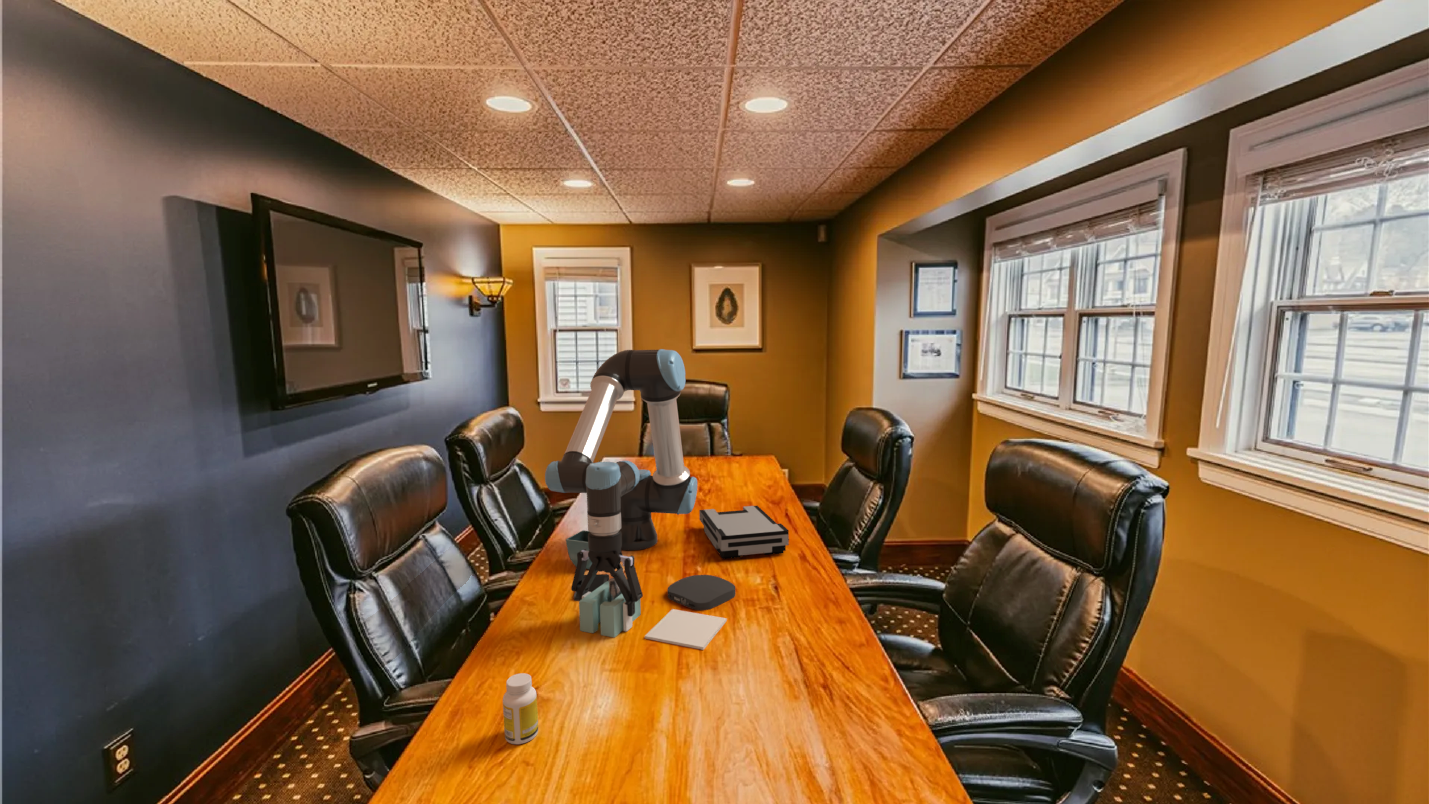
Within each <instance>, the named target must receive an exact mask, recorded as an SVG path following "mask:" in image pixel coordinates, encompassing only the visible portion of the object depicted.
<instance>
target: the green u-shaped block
mask: <svg viewBox="0 0 1429 804" xmlns="http://www.w3.org/2000/svg"><path fill="white" fill-rule="evenodd" d="M620 592H621V591H620ZM624 602H625V599H624V597H623V595H622V593H621V595H619V596H618V597H617V598H615V599H614V600H613V601H612V602H610V599H609V581H607V582H605V583H604V584H603V585H601V586H600V587H598V588H597V589H596V590H594V591H593V592H591V593H590V594H588V595H587V596H586V597H584V598H583V599H581V600H580V601H578V607H579V610H578V611H579V614H578V615H579V631H580V632H585V633H589V634H590V633H591V634H594V633H596V632H597V631H598V630H599V624H600V635H601V636H605V637H609V638H617V636H618V635H619V634H620V633H621V632H624V625H623V603H624ZM641 608H642V607H641V599H639V600H638V601H637V602H635V614H634V615H633V616H632V623H633V622H634V621H635V620H636V619H637V618H638V617H640V616H641V611H642V610H641Z"/></svg>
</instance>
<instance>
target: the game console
mask: <svg viewBox="0 0 1429 804" xmlns="http://www.w3.org/2000/svg"><path fill="white" fill-rule="evenodd" d="M698 510H699V511H698V512H699V521H700V522H701V524H702V525H703V532H704V533H705V535H706V536H707V539H708V540H709V541H710V543H711V545H712V546H713V547H714V549H715V550H716V552H717V553H718V554H719V555H720V558H721V559H722V560H729V559H738V558H743V556H748V555H756V554H763V555H764V556H769V555H780V554H784V552H786V551H787V549H786V546H789V539H790V538H789V535H790V534H789V532H790V531H789V529H788V528H787V527H785V526H784V525H783V524H782V523H777V522H776V521H775V520H774V519H773V518H772V517H770V515H768V514H767V513H766V512H765V510H763V509H761V507H759V506H758V505H747V506H745V505H744V506H742V509H741V510H728V511H717V510H716V509H714V508H711V509H709V508H708V509H707V508H706V509H698Z"/></svg>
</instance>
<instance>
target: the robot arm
mask: <svg viewBox="0 0 1429 804" xmlns="http://www.w3.org/2000/svg"><path fill="white" fill-rule="evenodd" d="M589 385H590V392H589V396H588V397H587V400H586V402H585V404H584V406H583V409H582V410H581V411H582V412H581V413H580V416H579V419H578V421H577V422H576V423H577V424H576V425H575V428H574V430H573V433H572V435H571V437H570V440H569V442H568V444H567V447H566V450H565V451H564V454H563V455H562V458H561V460H556V461H555V460H554V461H551V462H550V463H549V464H548V465H547V467H546V469H545V473H544V481H545V485H546V486H547V489H549V490H550V491H551V492H557V493H563V494H566V493H570V494H571V493H573V494H575V493H576V494H580V493H581V494H586V505H587V506H586V508H587V513H586V514H587V515H586V516H587V531H589V533H588V548H589V549H590V550H589V551H587V550H586V549H583V550H582V551H580V552H578V553H577V560H578V562H577V566H575V572H574V575H573V578H572V583H571V587H570V590H571V591H572V592H575V591H576V592H578V594H579V601H580V600H581V599H583V598H584V597H586V596H587V595H588V594H590V593H591V592H587V591H588V590H589V587H590V585H591V584H592V582H593V580H594V578H595V576H596V574H598V573H599V572H604V573H605V574H609V576H611V578H614V579H615V581H616V583H617V585H618V587H619V589H620V591H621V593H622V595H623V597H624V599H625V602H624V603H623V625H624V630H623V632H628V631H629V630H630V629H631V628H632V627H633V622H632V616H633V615H634V614H635V602H637V601H638V600H639V599H640V600H641V599H642V598H644V597H643V596H644V594H643V592H642V588H641V584H640V581H639V580H640V579H639V577H638V574H637V570H636V567H635V556H634V555H630V556H627V555H623V553H622V551H640V550H645V549H648V548H652V547H654V546H655V545H656V544H657V543H658V533H657V531H656V528H655V524H654V522H653V519H652V514H653V513H654V514H657V513H658V514H670V515H671V514H672V515H673V514H674V515H675V514H676V515H678V516H679V515H688V514H690V513H691V512H692V511H693V509H694V507H695V503H696V500H697V495H698V494H697V493H698V479H697V478H696V477H695V476H691V472H690V469H689V468H688V467H687V466H685V463H684V453H683V446H682V444H683V443H682V437H681V436H682V435H681V428H680V421H679V411H678V403H677V399H678V397H680V395H681V391H683V390H684V389H685V386H686V368H685V364H684V361H683V358H682V356H681V355H680V354H679V352H677V351H676V350H673V349H664V348H659V349H625V350H622V351H619V352H616V353H614V354H613V355H612V356H610V357H608V359H606V360H605V361H604V362H603V363H602V364H601V365H600V366H599V368H597V370H596V372H594V375H593V376H592V379H591V381H590V384H589ZM627 391H640V392H639V393H640V398H641V400H642V401H643V402H645V403H647V405H646V406H647V412H648V420H649V425H650V432H651V438H652V439H651V440H652V445H653V446H652V447H653V455H654V460H655V467H656V468H655V469H656V470H655V471H654V472H653V474H652V473H651V471H650V470H649V469H639V468H638V467H637V465H636V464H635V463H633V462H632V461H631V460H630V461H629V460H620V461H617V462H613V461H598V462H594V461H595V459H596V456H597V453H598V450H599V447H600V445H601V443H602V440H603V437H604V435H605V432H606V430H607V427H608V425H609V422H610V420H611V417H612V414H613V412H614V409H615V406H616V404H617V402H618V400H620V399H621V398H622V397H623V396H624V393H625V392H627ZM588 558H589V559H590V560H591V562H592V565H591V566H590V568H589V569H586V565H587V561H588ZM621 562H622V564H621ZM623 567H624V568H623ZM586 570H588V572H587V573H586ZM585 573H586V574H585ZM584 575H586V577H585V579H584V581H583V578H584ZM582 582H583V583H582ZM579 601H578V602H579Z"/></svg>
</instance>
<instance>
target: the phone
mask: <svg viewBox="0 0 1429 804" xmlns="http://www.w3.org/2000/svg"><path fill="white" fill-rule="evenodd" d="M586 575H587V574H584V578H583V581H584V579H585V577H586ZM609 579H610V574H609V573H602V574H601V573H599V574H598V573H597V574H596V576H595V578H594V580H593V582H592V584H591V585H590V587H589V590H588V591H587V592H593V591H594V590H596V589H597V588H598V587H600V586H601V585H603V584H604V583H605V582H607V581H609ZM582 583H583V582H582ZM573 601H575V602H579V594H578V592H576V591H574V595H573Z"/></svg>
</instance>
